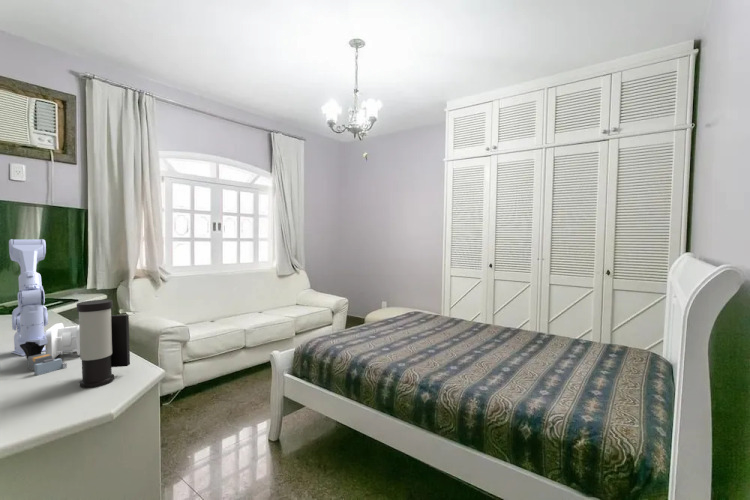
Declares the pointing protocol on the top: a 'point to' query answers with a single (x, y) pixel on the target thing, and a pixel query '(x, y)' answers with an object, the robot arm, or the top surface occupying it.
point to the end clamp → (48, 366)
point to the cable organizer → (62, 340)
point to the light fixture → (101, 342)
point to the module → (37, 359)
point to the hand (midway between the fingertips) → (33, 363)
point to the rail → (64, 365)
